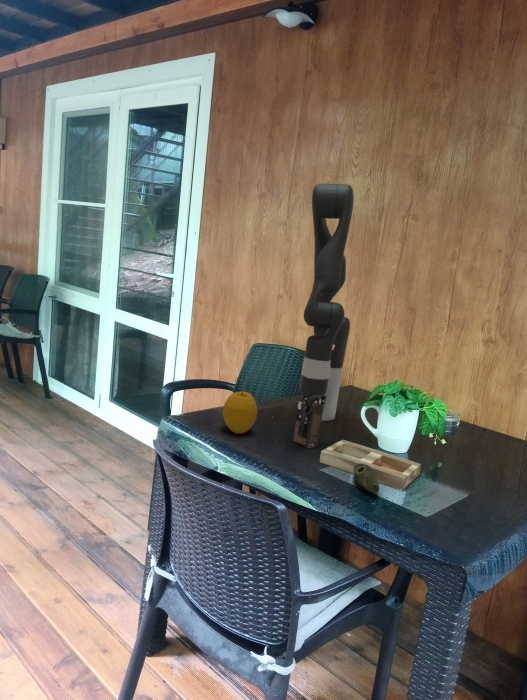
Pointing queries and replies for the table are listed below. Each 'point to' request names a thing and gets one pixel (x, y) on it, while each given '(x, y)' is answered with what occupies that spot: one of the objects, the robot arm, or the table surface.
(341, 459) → the socket board
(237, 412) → the apple
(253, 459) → the table surface
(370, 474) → the decorative stone
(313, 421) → the box
